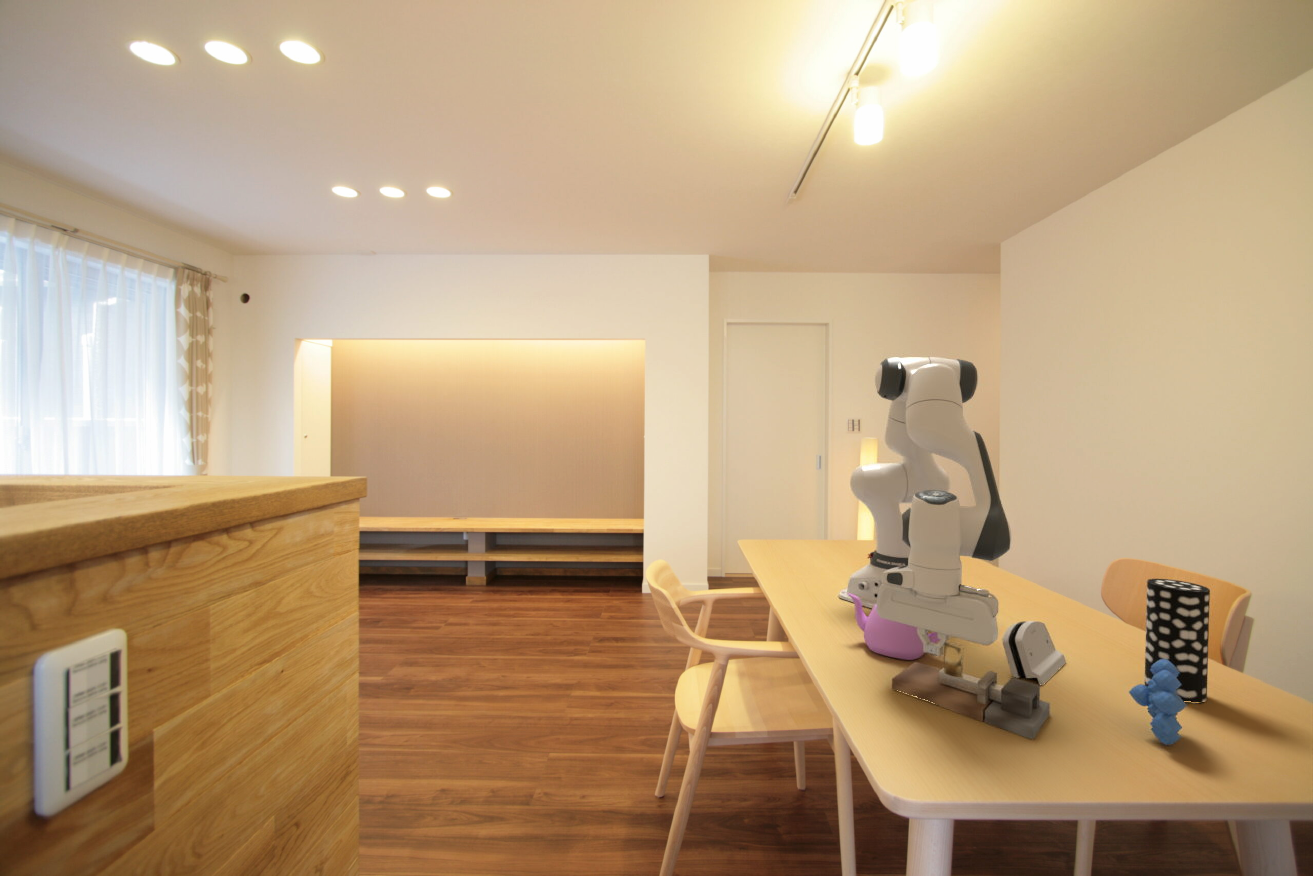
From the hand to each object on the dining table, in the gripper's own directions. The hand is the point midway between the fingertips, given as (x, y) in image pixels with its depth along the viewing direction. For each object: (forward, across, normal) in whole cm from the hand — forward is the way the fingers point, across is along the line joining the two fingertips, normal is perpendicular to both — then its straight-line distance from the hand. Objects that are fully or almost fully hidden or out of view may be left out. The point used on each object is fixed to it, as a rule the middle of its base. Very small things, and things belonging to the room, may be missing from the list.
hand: (933, 654), depth 100 cm
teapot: (+7, +13, -14) cm, 20 cm away
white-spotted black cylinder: (+7, -31, -33) cm, 45 cm away
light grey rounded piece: (+7, -10, -26) cm, 28 cm away
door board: (+7, -6, 0) cm, 9 cm away
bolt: (+4, -7, 0) cm, 9 cm away
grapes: (+7, -30, -11) cm, 32 cm away
